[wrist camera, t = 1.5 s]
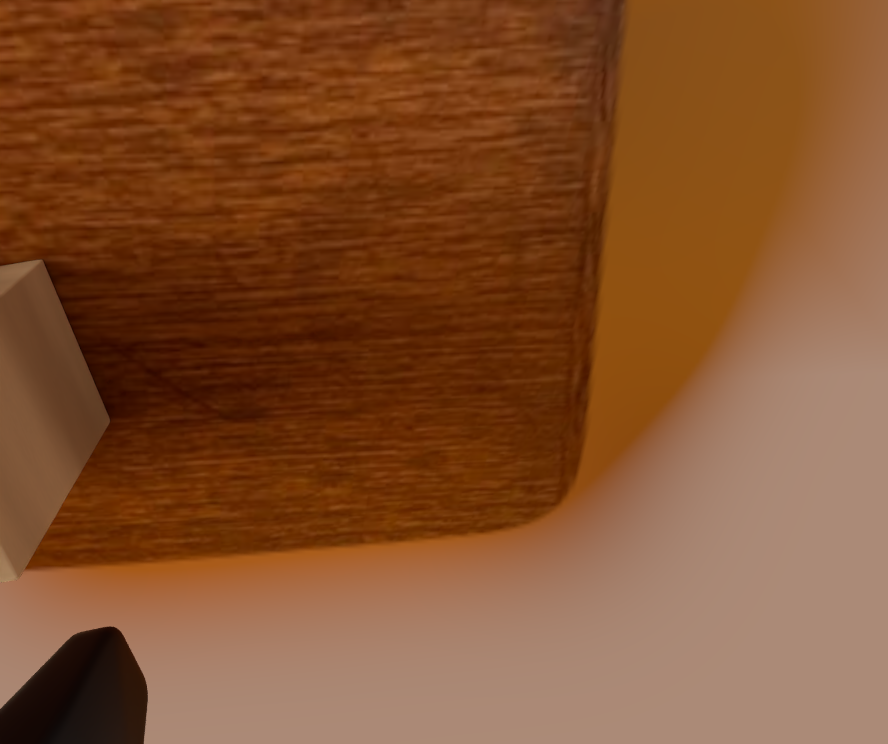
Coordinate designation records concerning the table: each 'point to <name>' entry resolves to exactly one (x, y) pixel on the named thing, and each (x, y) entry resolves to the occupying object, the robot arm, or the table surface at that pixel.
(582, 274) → the table surface
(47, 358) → the beige block
